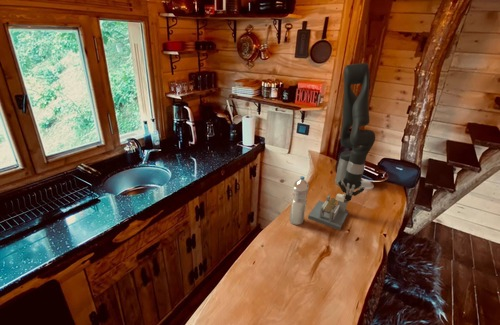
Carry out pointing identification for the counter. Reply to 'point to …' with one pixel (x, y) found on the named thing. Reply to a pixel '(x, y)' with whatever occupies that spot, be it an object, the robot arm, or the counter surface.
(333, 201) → the tan flat bar
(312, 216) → the clip base
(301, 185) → the water bottle
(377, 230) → the counter surface
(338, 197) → the latch
